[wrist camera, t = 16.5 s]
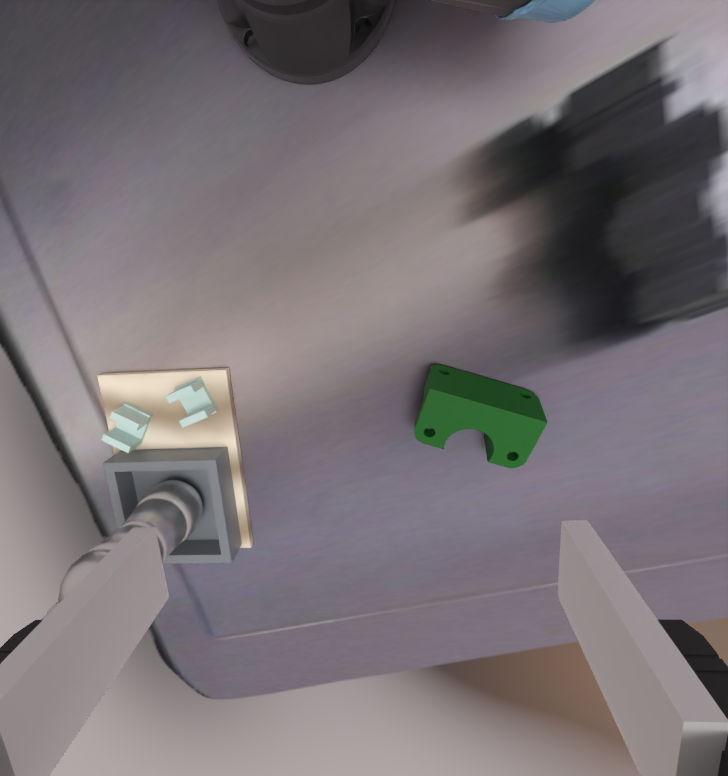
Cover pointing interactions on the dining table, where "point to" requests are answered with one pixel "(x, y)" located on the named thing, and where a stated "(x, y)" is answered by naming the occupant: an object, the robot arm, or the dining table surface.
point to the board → (165, 424)
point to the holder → (194, 467)
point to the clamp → (480, 414)
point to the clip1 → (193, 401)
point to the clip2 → (128, 427)
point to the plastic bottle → (156, 509)
